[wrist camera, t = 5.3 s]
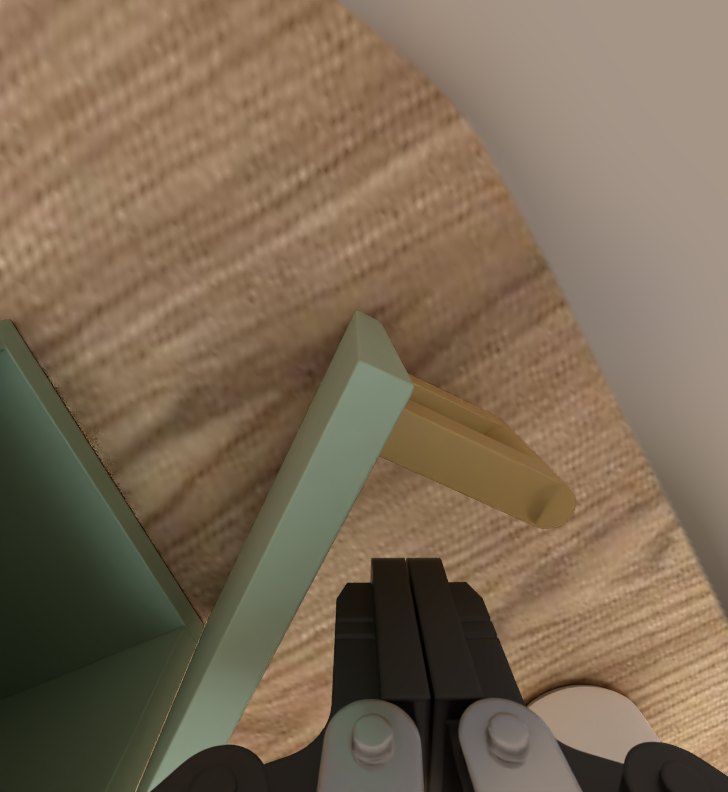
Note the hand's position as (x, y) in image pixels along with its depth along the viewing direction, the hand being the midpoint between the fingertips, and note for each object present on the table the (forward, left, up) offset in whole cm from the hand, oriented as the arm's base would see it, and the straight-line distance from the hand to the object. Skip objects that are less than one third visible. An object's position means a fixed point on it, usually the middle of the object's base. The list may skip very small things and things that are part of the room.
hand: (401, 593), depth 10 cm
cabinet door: (+2, 0, -8) cm, 8 cm away
